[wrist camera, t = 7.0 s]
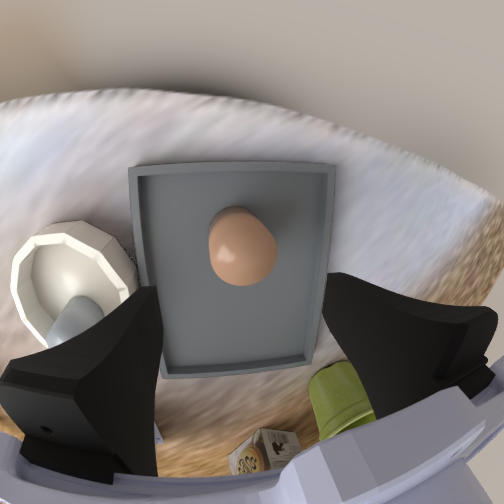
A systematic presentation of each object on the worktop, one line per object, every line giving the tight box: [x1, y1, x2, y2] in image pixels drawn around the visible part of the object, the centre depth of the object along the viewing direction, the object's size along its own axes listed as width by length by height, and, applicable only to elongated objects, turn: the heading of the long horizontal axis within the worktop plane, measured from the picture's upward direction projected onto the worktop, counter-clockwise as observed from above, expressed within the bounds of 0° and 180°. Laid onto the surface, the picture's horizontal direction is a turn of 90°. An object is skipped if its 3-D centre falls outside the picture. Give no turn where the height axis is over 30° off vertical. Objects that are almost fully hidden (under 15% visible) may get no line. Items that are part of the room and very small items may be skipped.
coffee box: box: [228, 428, 302, 475], centre depth 24 cm, size 9×6×16 cm
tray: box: [128, 161, 336, 379], centre depth 21 cm, size 18×14×2 cm
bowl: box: [11, 220, 140, 348], centre depth 18 cm, size 11×11×3 cm
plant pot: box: [308, 361, 376, 441], centre depth 24 cm, size 9×9×9 cm
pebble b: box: [208, 206, 278, 286], centre depth 17 cm, size 4×4×4 cm
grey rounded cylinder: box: [46, 296, 105, 348], centre depth 17 cm, size 4×4×4 cm
